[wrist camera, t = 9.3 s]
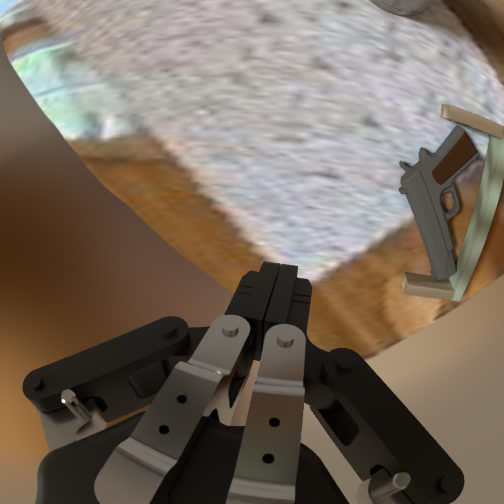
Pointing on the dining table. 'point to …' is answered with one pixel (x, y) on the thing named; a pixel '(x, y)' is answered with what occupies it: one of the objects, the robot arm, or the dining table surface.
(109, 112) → the dining table surface
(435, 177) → the handgun
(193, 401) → the robot arm
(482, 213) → the bay
